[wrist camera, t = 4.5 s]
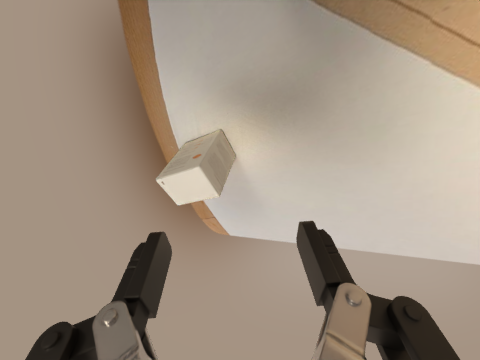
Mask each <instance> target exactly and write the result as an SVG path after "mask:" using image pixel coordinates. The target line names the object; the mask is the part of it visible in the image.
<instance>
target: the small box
mask: <svg viewBox="0 0 480 360" xmlns="http://www.w3.org/2000/svg"><path fill="white" fill-rule="evenodd" d="M234 159H235V154H234V152H233V150H232V148H231V146H230V144H229V143H228V141H227V139H226V137H225V135H224V133H223V132H222V130H218V131H216V132H213V133H211V134H208V135H206V136H203V137H201V138H198V139H195V140H193V141H190V142H188V143H185V144H184V145H183V146H182V148H181V149H180V150H179V151H178V152H177V154H176V155H175V156H174V157H173V158H172V160H171V161H170V162H169V163H168V164H167V166H166V167H165V168H164V170H163V171H162V172H161V173H160V174H159V176H158V177H157V178H156V181H157V182H158V183H159V184H160V185H161V187H162V188H163V189H164V190H165V191H166V192H167V194H168V195H169V196H170V197H171V198H172V199H173V201H174V202H175V203H176V204H177V205H178V206H179V205H183V204H188V203H192V202H197V201H201V200H206V199H210V198H215V197H220V195H221V192H222V190H223V187H224V184H225V182H226V179H227V177H228V174H229V172H230V169H231V167H232V164H233V161H234Z"/></svg>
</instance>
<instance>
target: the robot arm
mask: <svg viewBox="0 0 480 360" xmlns="http://www.w3.org/2000/svg"><path fill="white" fill-rule="evenodd" d="M297 247H298V250H299V253H300V256H301V259H302V262H303V265H304V268H305V271H306V274H307V277H308V280H309V283H310V286H311V289H312V292H313V295H314V298H315V301H316V304H317V306H324V308H325V311H326V314H325V318H324V321H323V324H322V328H321V331H320V334H319V338H318V341H317V345H316V348H315V351H314V354H313V357H312V360H366V358H365V347H366V341H368V342H372V343H375V344H376V345H377V347H378V350H379V352H380V354H381V357H382V359H383V360H460V359H459V357H458V356H457V354H456V353H455V351H454V350H453V348H452V347H451V345H450V344H449V342H448V341H447V339H446V338H445V336H444V335H443V333H442V332H441V330H440V329H439V327H438V326H437V325H436V323H435V321H434V320H433V319H432V317H431V316H430V314H429V313H428V311H427V310H426V309H425V308H424V307H423V306H422V305H421V304H420V303H418V302H417V301H415V300H413V299H411V298H409V297H405V296H398V297H396V298H395V299H394V300H389V299H385V298H381V297H377V296H373V295H371V294H368V293H366V292H365V291H364V290H363V289H362V288H360V287H359V286H357V285H356V283H355V282H354V280H353V279H352V277H351V275H350V273H349V271H348V269H347V267H346V265H345V263H344V261H343V260H342V258H341V256H340V254H339V253H338V250H337V248H336V246H335V244H334V242H333V240H332V238H331V236H330V235H329V234H328V233H327V232H325V231H324V230H323V229H322V230H318V229H317V227H316V225H315V223H314V222H313V221H304V222H299V227H298V232H297ZM171 256H172V249H171V245H170V243H169V241H168V238H167V236H166V234H165V232H154V233H150V234H149V236H148V238H147V241H146V242H145V243H141V244H140V245H139V246H138V247H137V248H136V249H135V250H134V252H133V254H132V257H131V259H130V262H129V264H128V266H127V269H126V270H125V273H124V275H123V277H122V279H121V282H120V284H119V286H118V288H117V291H116V293H115V295H114V297H113V299H112V301H111V303H109V304H107V305H106V306H104V307H103V308H102V309H101V310H100V311H99V313H98V314H97V315H96V316H94V317H91V318H89V319H87V320H84V321H82V322H79V323H77V324H74V325H71V324H70V323H68V322H59V323H57V324H55V325H53V326H51V327H50V328H48V329H47V330H46V331H45V332H44V333H43V334H42V335H41V336H40V337H39V338H38V340H37V341H36V342H35V344H34V346H33V347H32V349H31V351H30V352H29V354H28V356H27V358H26V359H25V360H158V358H157V355H156V353H155V350H154V348H153V345H152V342H151V339H150V336H149V334H148V331H147V329H146V324H147V320H148V318H156V314H157V310H158V306H159V303H160V299H161V295H162V291H163V287H164V283H165V280H166V276H167V272H168V268H169V264H170V260H171Z"/></svg>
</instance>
